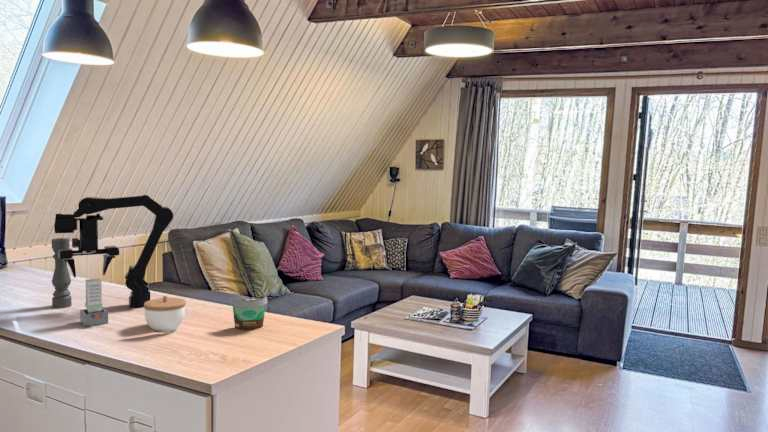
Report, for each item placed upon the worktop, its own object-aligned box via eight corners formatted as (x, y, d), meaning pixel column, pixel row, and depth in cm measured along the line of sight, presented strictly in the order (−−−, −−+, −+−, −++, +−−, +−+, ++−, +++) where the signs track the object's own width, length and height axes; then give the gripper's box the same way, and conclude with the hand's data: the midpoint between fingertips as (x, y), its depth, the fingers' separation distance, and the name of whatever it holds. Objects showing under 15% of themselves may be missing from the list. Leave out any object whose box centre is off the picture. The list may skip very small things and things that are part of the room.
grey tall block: (99, 309, 184) (99, 278, 183) (102, 312, 180) (102, 280, 179) (85, 311, 181) (84, 279, 180) (87, 314, 178) (87, 282, 177)
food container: (234, 332, 178) (234, 302, 177) (230, 327, 184) (230, 298, 183) (271, 328, 184) (272, 299, 183) (266, 323, 189) (267, 295, 189)
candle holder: (48, 306, 202) (46, 239, 200) (63, 303, 208) (62, 237, 206) (60, 309, 200) (58, 240, 198) (75, 305, 206) (74, 238, 204)
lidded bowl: (144, 325, 183) (143, 293, 182) (184, 322, 188) (184, 290, 187) (143, 337, 171) (143, 302, 170) (186, 333, 176) (186, 299, 175)
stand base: (112, 317, 191) (112, 303, 191) (122, 327, 180) (122, 312, 179) (66, 323, 182) (66, 309, 182) (73, 334, 171) (73, 318, 171)
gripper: (112, 229, 207) (113, 270, 208) (55, 231, 196) (56, 274, 197) (119, 232, 198) (119, 275, 199) (59, 235, 187) (60, 280, 188)
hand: (89, 276), depth 196 cm, fingers open, 9 cm apart
